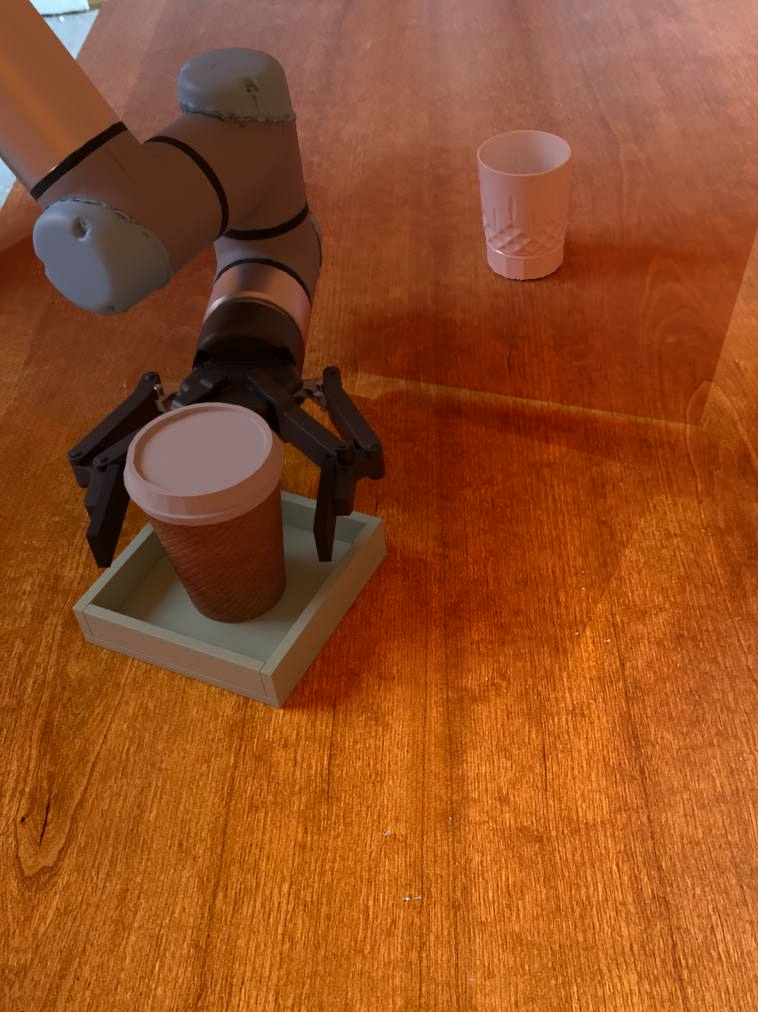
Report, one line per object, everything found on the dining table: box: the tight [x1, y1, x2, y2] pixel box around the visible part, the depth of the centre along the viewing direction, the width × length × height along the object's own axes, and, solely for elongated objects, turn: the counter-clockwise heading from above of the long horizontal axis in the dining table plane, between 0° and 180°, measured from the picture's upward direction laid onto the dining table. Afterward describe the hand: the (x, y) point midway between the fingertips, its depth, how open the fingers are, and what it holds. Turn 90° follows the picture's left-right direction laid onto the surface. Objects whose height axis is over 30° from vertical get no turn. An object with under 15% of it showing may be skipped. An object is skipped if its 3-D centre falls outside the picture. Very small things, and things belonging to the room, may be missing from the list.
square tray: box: [72, 489, 388, 709], centre depth 78 cm, size 15×15×3 cm
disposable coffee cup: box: [124, 403, 286, 623], centre depth 74 cm, size 10×10×12 cm
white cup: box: [476, 129, 573, 281], centre depth 101 cm, size 8×8×10 cm
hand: (209, 549), depth 71 cm, fingers open, 13 cm apart
